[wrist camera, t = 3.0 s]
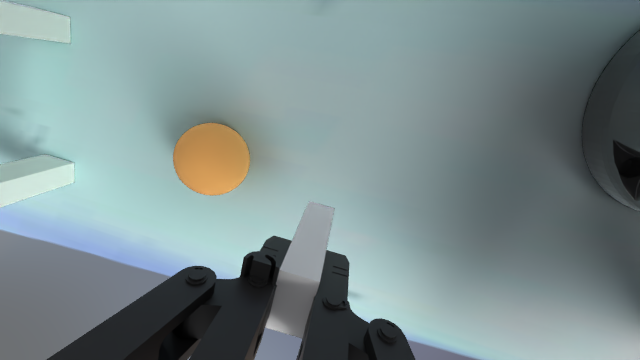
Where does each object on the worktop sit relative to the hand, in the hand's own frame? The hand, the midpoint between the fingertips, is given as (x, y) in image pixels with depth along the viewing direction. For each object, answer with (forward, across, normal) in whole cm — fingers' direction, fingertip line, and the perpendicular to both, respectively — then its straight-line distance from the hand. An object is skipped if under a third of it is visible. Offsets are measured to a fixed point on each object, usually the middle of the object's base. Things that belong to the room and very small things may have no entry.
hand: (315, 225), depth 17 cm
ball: (+6, +9, 0) cm, 11 cm away
